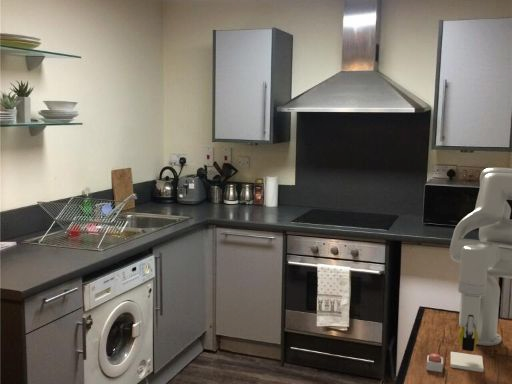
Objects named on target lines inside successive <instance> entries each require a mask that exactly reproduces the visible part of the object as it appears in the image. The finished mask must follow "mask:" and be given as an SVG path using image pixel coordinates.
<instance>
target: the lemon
mask: <svg viewBox="0 0 512 384" xmlns="http://www.w3.org/2000/svg"><path fill="white" fill-rule="evenodd" d="M464 327H465V326H464ZM464 327H460V328H459V331H458V334H457V340H458V343H459V344H460V346H461V347H462V343H463V336H464ZM466 327H468V325H466ZM466 331H468V329H466ZM474 338H475V342H474V348H475V347H476V346H477V345H478V344H477V342H478V333H477V330H476V329H475V331H474Z"/></svg>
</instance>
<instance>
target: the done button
mask: <svg viewBox="0 0 512 384" xmlns="http://www.w3.org/2000/svg"><path fill="white" fill-rule="evenodd" d="M440 357H441V355H440V354H438V353H430V361H431V362H437V363H439V362H440Z"/></svg>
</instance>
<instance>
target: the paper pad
mask: <svg viewBox="0 0 512 384" xmlns="http://www.w3.org/2000/svg"><path fill="white" fill-rule="evenodd" d="M483 362H484V360H483V355H478V354H470V353H463V352H456V351H450V368H454V369H459V370H460V369H461V370H466V371H472V372H480V373H484V363H483Z"/></svg>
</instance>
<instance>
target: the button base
mask: <svg viewBox="0 0 512 384" xmlns="http://www.w3.org/2000/svg"><path fill="white" fill-rule="evenodd" d="M426 358H427V359H426V371H431V372H438V373H443V370H444V369H443V367H444V357H442V356H440V362H439V363H437V362H431V361H430V355H429V354H428V355H427V357H426Z"/></svg>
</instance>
